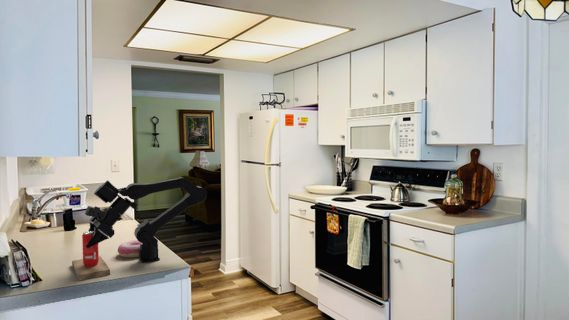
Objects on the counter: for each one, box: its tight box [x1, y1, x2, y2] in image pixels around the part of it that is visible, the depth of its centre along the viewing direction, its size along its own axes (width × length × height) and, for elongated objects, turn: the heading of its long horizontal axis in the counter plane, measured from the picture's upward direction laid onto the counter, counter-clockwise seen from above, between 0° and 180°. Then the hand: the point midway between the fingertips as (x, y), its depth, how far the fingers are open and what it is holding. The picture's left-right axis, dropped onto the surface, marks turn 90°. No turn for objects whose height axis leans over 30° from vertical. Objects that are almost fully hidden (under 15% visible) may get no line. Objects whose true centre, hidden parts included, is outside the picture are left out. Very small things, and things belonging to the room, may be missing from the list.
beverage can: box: [81, 230, 100, 267], centre depth 148 cm, size 5×5×12 cm
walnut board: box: [71, 255, 111, 281], centre depth 148 cm, size 10×20×2 cm, turn 33°
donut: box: [117, 239, 142, 258], centre depth 167 cm, size 14×13×5 cm
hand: (84, 244), depth 147 cm, fingers open, 9 cm apart
